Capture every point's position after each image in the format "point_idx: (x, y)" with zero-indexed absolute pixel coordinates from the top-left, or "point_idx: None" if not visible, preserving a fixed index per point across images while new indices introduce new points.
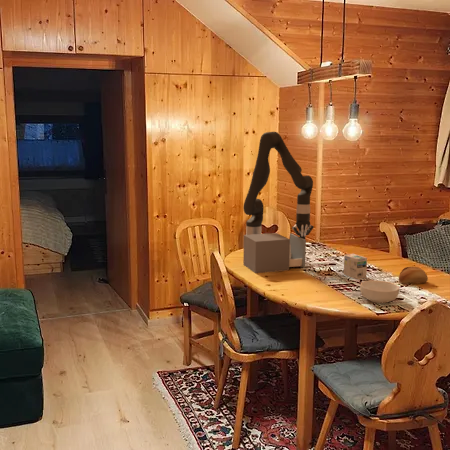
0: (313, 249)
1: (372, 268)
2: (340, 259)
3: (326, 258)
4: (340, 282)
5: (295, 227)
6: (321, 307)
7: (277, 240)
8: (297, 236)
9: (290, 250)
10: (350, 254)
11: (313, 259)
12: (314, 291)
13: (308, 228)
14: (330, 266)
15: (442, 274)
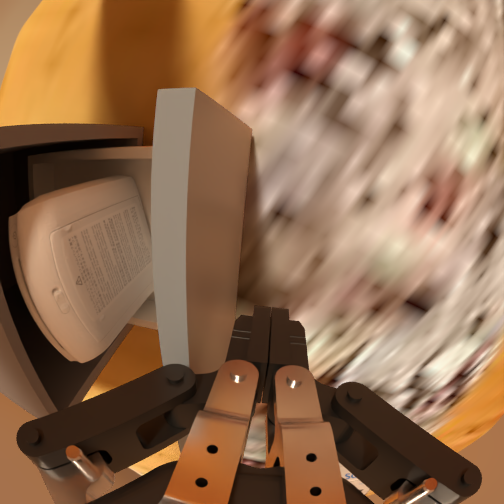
0: (493, 18)
1: (459, 387)
2: (501, 244)
3: (476, 191)
4: (255, 453)
5: (77, 483)
6: (142, 475)
7: (3, 391)
8: (180, 363)
9: (125, 324)
10: (357, 483)
11: (412, 169)
12: (155, 453)
13: (407, 469)
14: (381, 334)
15: (486, 431)
